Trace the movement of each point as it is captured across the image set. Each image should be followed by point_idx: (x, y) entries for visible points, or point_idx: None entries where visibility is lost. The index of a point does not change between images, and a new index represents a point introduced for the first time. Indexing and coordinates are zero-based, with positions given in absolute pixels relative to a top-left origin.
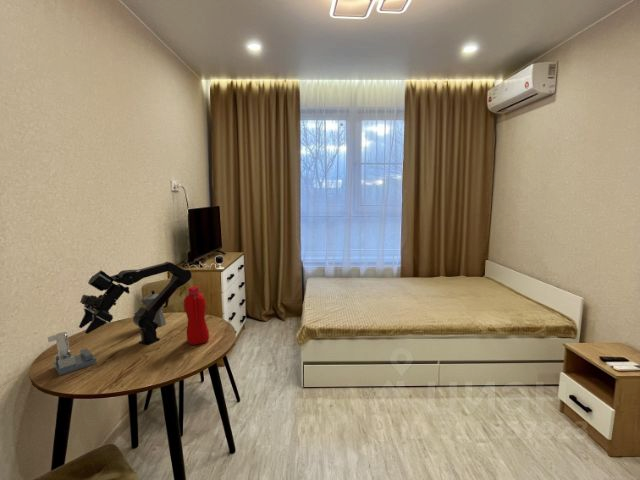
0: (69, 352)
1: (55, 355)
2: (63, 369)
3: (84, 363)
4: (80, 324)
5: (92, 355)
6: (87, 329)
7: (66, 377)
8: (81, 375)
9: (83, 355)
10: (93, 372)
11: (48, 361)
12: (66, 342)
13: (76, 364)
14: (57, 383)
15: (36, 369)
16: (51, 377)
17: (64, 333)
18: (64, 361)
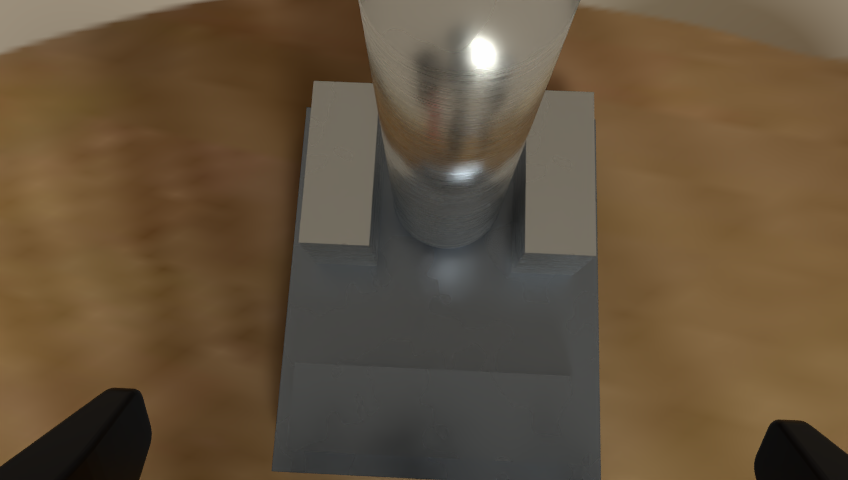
0: (415, 202)
1: (578, 99)
2: (303, 145)
3: (287, 342)
4: (813, 472)
5: (290, 447)
6: (20, 452)
7: (217, 161)
8: (127, 264)
9: (402, 368)
10: (82, 365)
11: (803, 139)
12: (385, 110)
13: (307, 265)
14: (161, 80)
15: (672, 26)
16: (346, 75)
17: (445, 18)
18: (310, 136)
